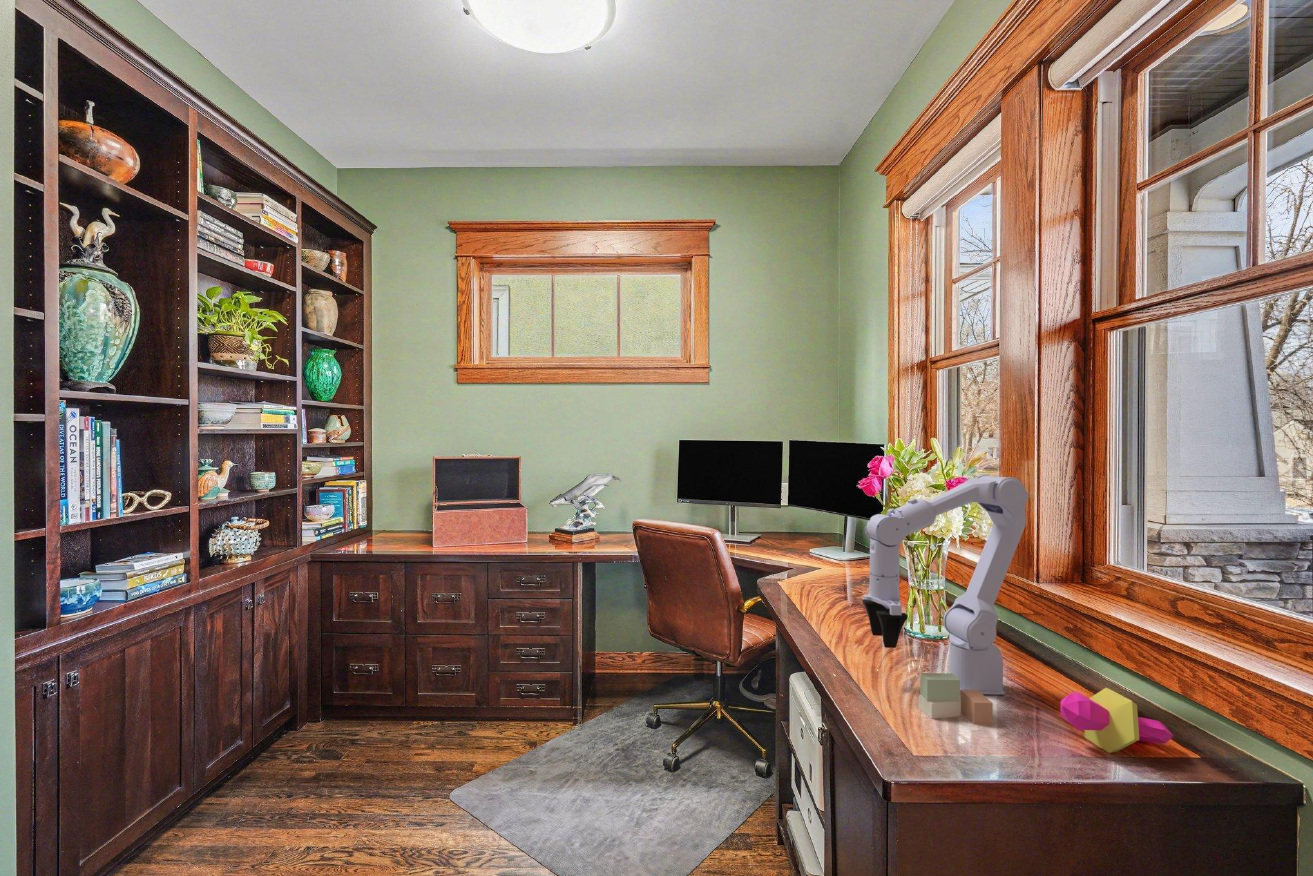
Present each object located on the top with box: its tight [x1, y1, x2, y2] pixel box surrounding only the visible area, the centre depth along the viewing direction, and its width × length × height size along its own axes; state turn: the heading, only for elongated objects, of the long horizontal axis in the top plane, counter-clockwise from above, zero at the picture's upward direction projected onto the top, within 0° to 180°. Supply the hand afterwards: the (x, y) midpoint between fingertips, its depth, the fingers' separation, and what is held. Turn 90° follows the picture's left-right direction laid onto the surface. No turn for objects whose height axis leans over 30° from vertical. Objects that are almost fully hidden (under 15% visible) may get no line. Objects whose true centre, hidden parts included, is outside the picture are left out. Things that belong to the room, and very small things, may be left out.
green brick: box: [919, 672, 960, 702], centre depth 120 cm, size 6×3×4 cm, turn 89°
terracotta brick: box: [960, 689, 994, 726], centre depth 118 cm, size 6×3×4 cm, turn 177°
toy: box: [1060, 687, 1174, 754], centre depth 107 cm, size 10×18×10 cm, turn 93°
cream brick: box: [918, 694, 962, 720], centre depth 120 cm, size 6×4×3 cm, turn 101°
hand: (883, 641), depth 130 cm, fingers open, 7 cm apart
